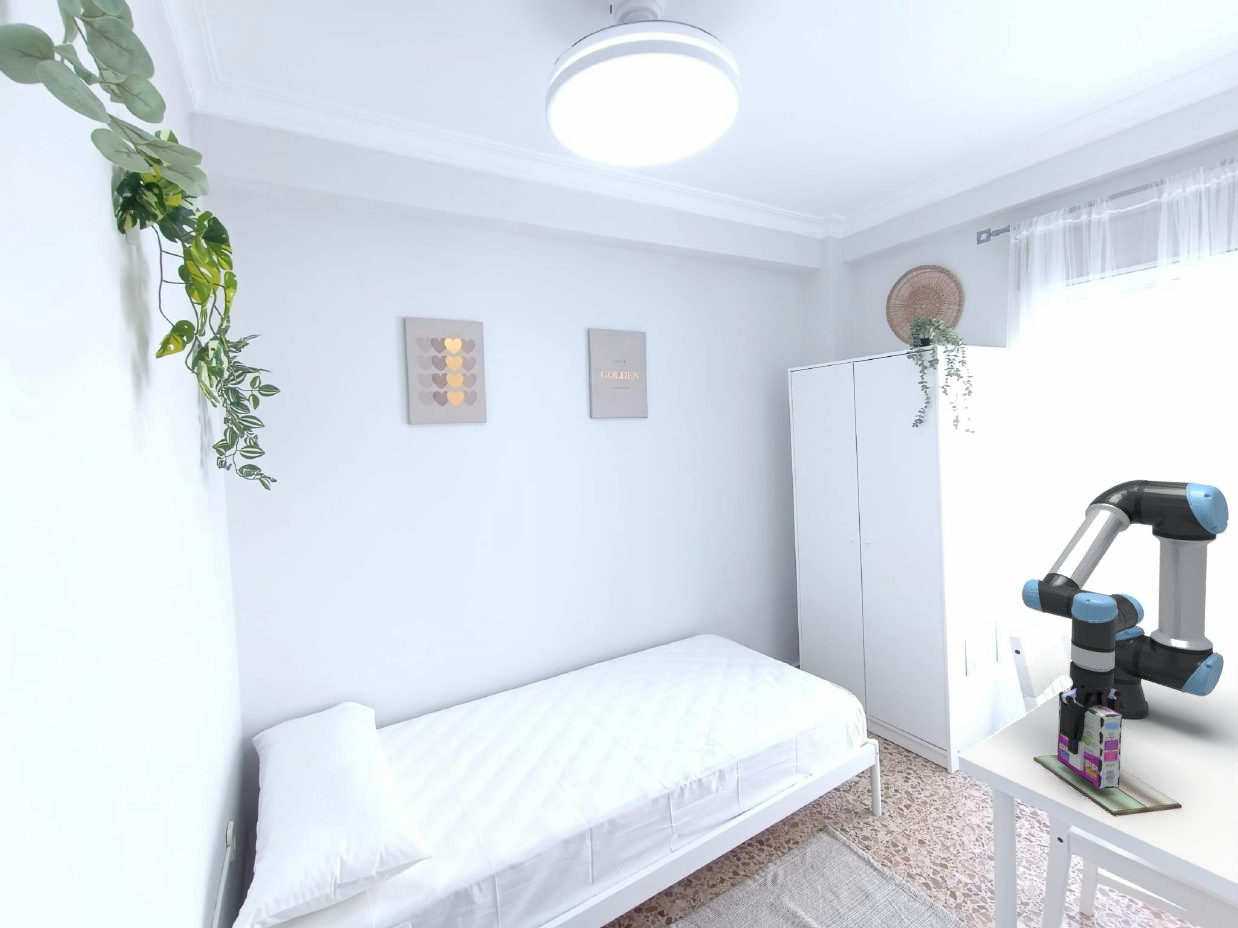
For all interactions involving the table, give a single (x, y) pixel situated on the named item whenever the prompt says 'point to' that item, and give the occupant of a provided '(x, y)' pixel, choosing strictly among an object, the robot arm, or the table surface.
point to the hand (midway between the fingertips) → (1087, 764)
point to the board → (1113, 790)
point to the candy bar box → (1097, 747)
